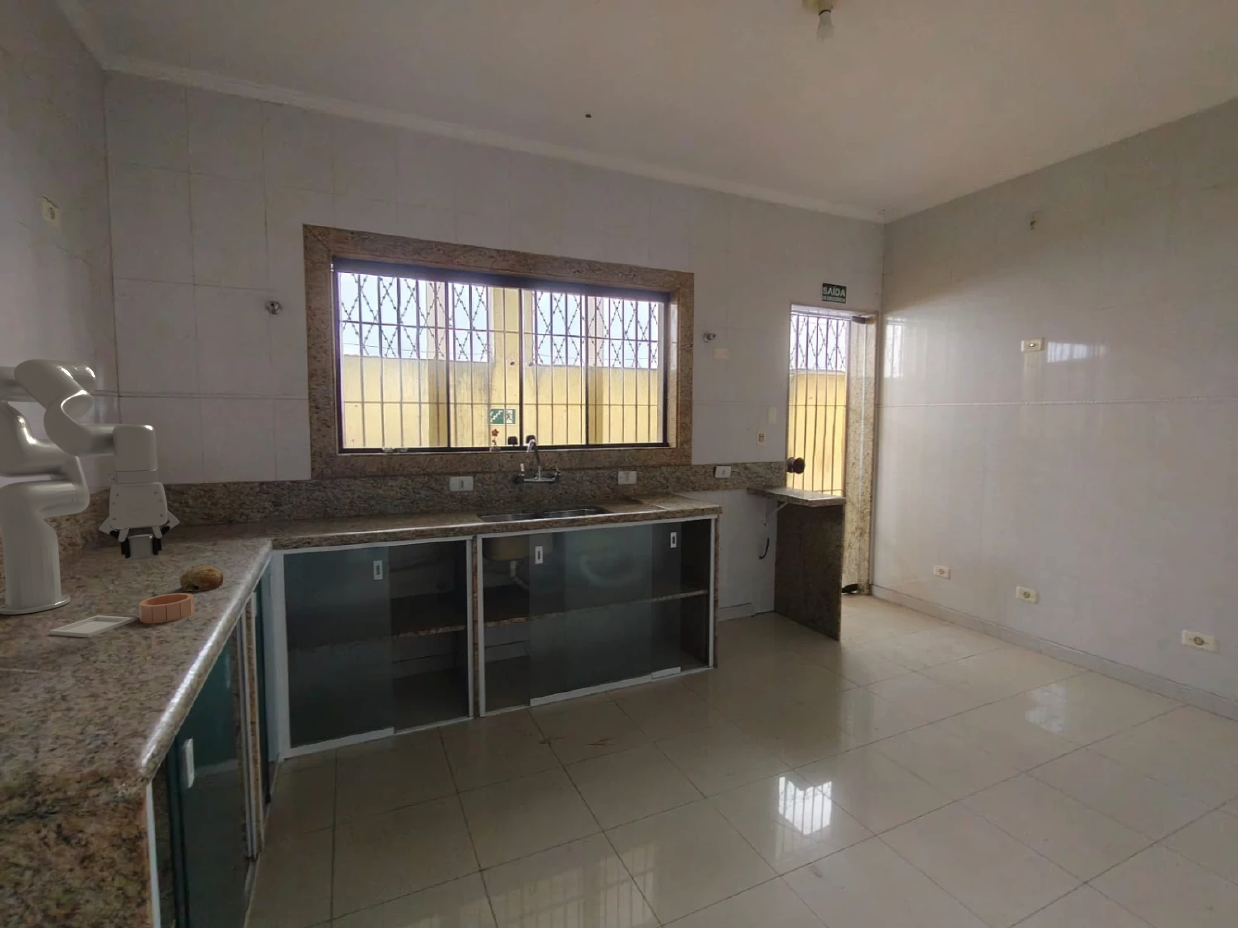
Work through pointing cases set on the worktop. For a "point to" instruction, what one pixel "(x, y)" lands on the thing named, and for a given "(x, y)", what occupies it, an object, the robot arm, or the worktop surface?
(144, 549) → the grey cylinder
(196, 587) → the bread roll
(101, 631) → the parts tray
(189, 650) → the worktop surface
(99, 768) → the worktop surface
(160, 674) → the worktop surface
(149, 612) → the bowl
